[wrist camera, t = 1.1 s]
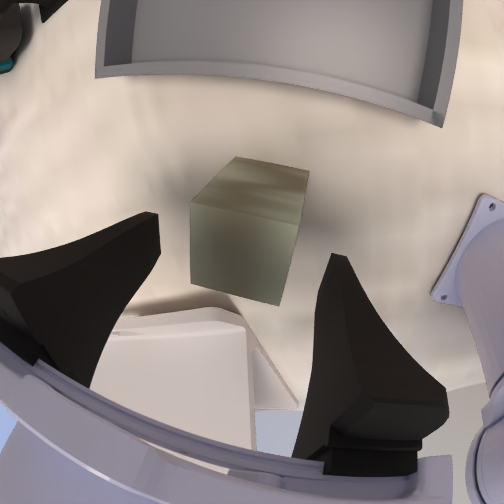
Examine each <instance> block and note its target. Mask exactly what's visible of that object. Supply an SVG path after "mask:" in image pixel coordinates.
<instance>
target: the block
mask: <svg viewBox="0 0 504 504" xmlns="http://www.w3.org/2000/svg"><path fill="white" fill-rule="evenodd" d="M308 176H309V171H306V170H302V169H297V168H293V167H288V166H283V165H278V164H274V163H268V162H263V161H258V160H253V159H247V158H241V157H235V158H234V159H233V160H232V161H231V162H230V163H229V164H227V165H226V166H225V167H224V168H223V169H222V170H221V171H220V172H219V173H218V174H217V175H216V176H215V177H214V178H213V179H212V180H211V181H210V182H209V183H208V184H207V185H206V186H205V187H204V188H203V189H202V191H201V192H200V193H199V194H198V195H197V196H196V197H195V198H194V199H193V200H192V201H191V202H190V276H191V284H194V285H198V286H202V287H205V288H209V289H213V290H216V291H220V292H224V293H228V294H232V295H235V296H239V297H243V298H247V299H251V300H255V301H259V302H263V303H267V304H271V305H275V306H279V305H280V302H281V298H282V294H283V290H284V286H285V282H286V279H287V275H288V271H289V267H290V263H291V259H292V255H293V251H294V247H295V243H296V238H297V234H298V230H299V226H300V221H301V215H302V210H303V204H304V199H305V193H306V187H307V181H308Z"/></svg>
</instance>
